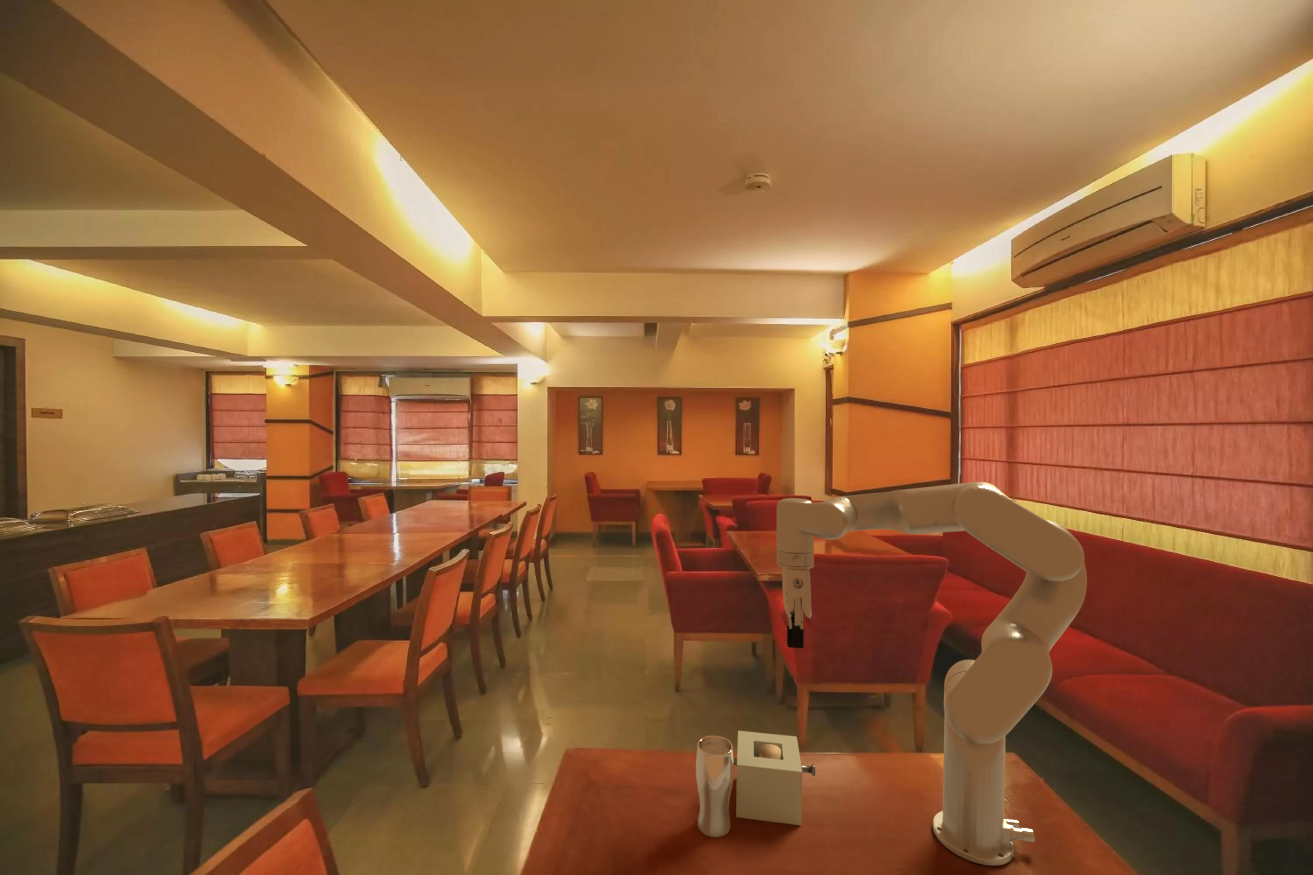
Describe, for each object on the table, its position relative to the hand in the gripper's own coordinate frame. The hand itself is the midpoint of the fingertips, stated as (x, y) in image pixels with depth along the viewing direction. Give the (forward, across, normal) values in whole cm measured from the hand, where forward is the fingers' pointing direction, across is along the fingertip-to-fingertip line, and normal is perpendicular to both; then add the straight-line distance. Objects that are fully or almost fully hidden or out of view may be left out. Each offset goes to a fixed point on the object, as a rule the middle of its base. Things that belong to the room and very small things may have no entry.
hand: (795, 646), depth 114 cm
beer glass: (+28, -15, +16) cm, 36 cm away
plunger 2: (+23, -7, 0) cm, 24 cm away
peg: (+28, -6, +6) cm, 30 cm away
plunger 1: (+22, -6, +12) cm, 26 cm away
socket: (+28, -6, +6) cm, 30 cm away
